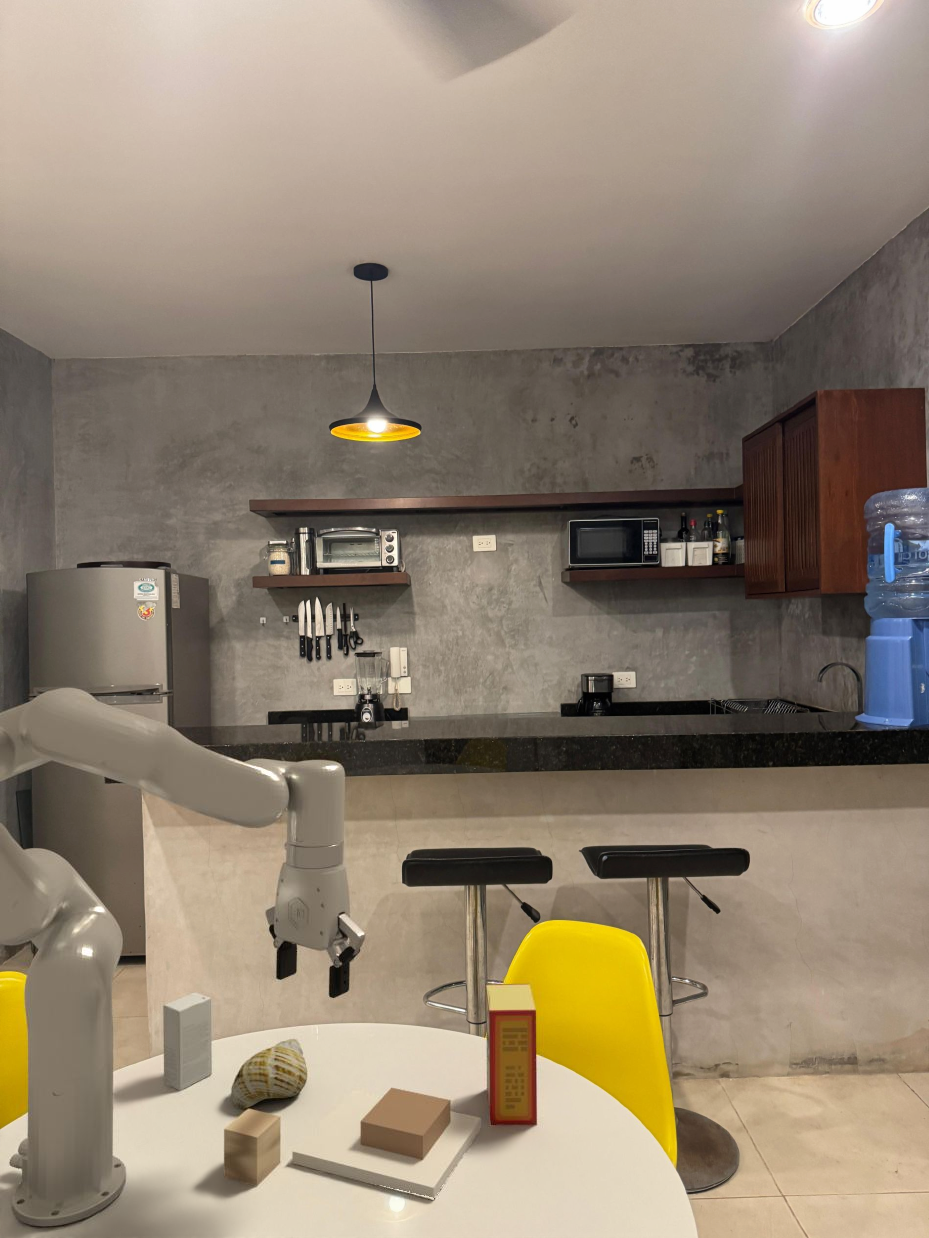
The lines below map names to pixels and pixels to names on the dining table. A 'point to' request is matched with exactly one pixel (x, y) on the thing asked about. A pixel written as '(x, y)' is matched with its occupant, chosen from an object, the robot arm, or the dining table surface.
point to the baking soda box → (511, 1054)
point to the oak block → (252, 1147)
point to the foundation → (390, 1140)
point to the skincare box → (187, 1040)
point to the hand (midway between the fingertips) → (312, 985)
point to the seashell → (270, 1075)
